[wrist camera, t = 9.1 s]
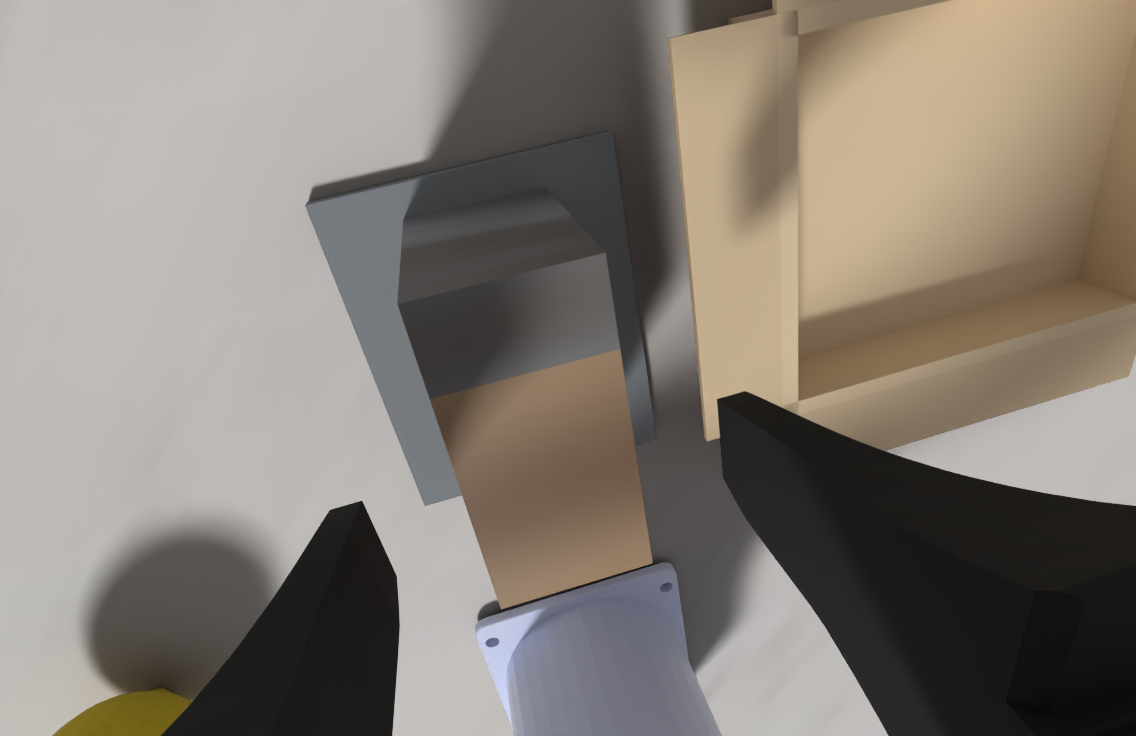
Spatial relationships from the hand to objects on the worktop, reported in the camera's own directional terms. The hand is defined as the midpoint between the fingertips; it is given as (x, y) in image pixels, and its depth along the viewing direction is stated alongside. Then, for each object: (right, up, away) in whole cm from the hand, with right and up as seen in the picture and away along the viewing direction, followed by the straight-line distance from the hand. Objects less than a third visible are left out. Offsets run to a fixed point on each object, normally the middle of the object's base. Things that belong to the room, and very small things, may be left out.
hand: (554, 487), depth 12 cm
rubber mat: (-2, +3, +6) cm, 7 cm away
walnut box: (-1, +3, +6) cm, 7 cm away
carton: (+12, +8, +7) cm, 16 cm away
